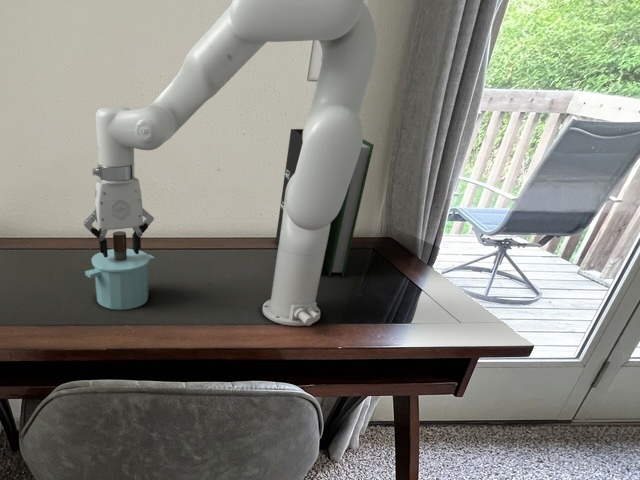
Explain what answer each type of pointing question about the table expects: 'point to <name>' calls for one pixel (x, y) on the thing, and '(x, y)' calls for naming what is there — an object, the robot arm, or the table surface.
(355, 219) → the green and black books
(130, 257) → the pot lid
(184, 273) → the table surface
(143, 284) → the pot
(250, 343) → the table surface
